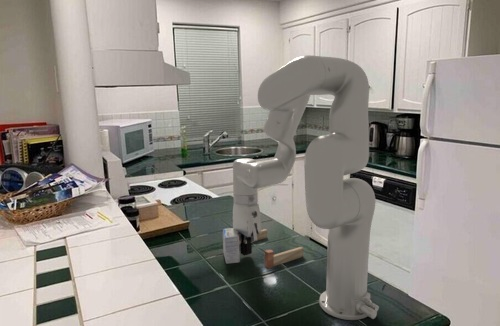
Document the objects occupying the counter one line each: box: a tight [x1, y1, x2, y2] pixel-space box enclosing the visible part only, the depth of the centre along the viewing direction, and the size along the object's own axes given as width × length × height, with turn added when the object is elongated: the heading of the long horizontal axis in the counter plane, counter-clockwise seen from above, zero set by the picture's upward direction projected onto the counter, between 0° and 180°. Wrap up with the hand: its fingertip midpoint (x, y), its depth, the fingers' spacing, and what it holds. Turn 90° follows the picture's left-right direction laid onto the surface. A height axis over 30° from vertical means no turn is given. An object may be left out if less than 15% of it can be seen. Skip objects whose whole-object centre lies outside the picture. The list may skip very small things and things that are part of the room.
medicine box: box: [222, 227, 241, 264], centre depth 116 cm, size 8×4×9 cm, turn 10°
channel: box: [238, 228, 304, 270], centre depth 121 cm, size 21×14×5 cm, turn 34°
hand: (246, 253), depth 117 cm, fingers closed
